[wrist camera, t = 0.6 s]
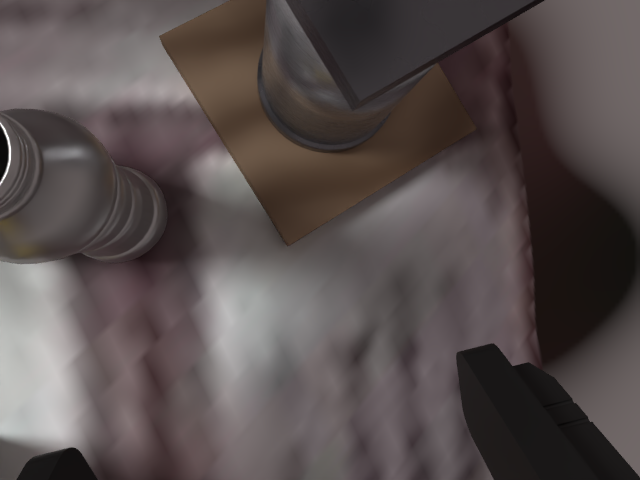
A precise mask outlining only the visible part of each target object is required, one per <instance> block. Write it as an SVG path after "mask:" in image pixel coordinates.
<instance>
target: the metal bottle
mask: <svg viewBox="0 0 640 480" xmlns="http://www.w3.org/2000/svg"><path fill="white" fill-rule="evenodd" d="M167 215H168V211H167V205H166V200H165V197H164V195H163V192H162V191H161V189H160V188H159V186H158V185H157V183H156V182H155V181H153V180H152V179H151V178H150V177H149V176H147V175H146V174H144V173H143V172H140V171H138V170H135V169H133V168H129V167H124V166H119V165H116V164H115V163H114V162H113V160H112V158H111V157H110V155H109V153H108V152H107V150H106V149H105V147H104V146H103V145H102V143H101V142H100V141H99V140H98V139H97V138H96V137H95V136H94V135H93V134H92V133H91V132H90V131H89V130H88V129H87V128H86V127H84V126H83V125H81V124H79V123H78V122H76V121H75V120H73V119H71V118H69V117H66V116H64V115H61V114H59V113H54V112H49V111H44V110H37V109H10V110H4V111H0V261H3V262H9V263H16V264H37V263H43V262H49V261H53V260H58V259H62V258H64V257H67V256H70V255H73V254H76V253H82V254H84V255H86V256H88V257H91V258H93V259H96V260H99V261H102V262H108V263H122V262H126V261H131V260H133V259H135V258H138V257H140V256H142V255H143V254H145V253H146V252H148V251H149V250H150V249H151V248H152V247H153V246H154V245H155V244H156V243H157V242H158V241H159V239H160V238H161V237H162V235H163V232H164V230H165V228H166V224H167Z"/></svg>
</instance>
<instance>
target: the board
mask: <svg viewBox="0 0 640 480" xmlns="http://www.w3.org/2000/svg"><path fill="white" fill-rule="evenodd" d="M266 2H267V0H230V1H228V2H226V3H224V4H222V5H220V6H218V7H216V8H214V9H212V10H210V11H208V12H206V13H204V14H202V15H200V16H198V17H196V18H194V19H192V20H190V21H188V22H186V23H184V24H182V25H180V26H178V27H176V28H174V29H172V30H170V31H168V32H166V33H164V34H162V35H160V36H159V37H160V40H161V42H162V45H163V47H164V49H165V50H166V52H167V53H168V55H169V57H170V58H171V60H172V61H173V63H174V65H175V66H176V68H177V69H178V71H179V73H180V74H181V76H182V77H183V79H184V81H185V82H186V84H187V86H188V87H189V89H190V90H191V92H192V94H193V95H194V97H195V98H196V100H197V102H198V103H199V105H200V106H201V108H202V110H203V111H204V113H205V115H206V116H207V118H208V119H209V121H210V123H211V124H212V126H213V127H214V129H215V131H216V132H217V134H218V135H219V137H220V139H221V140H222V142H223V143H224V145H225V147H226V148H227V150H228V152H229V153H230V155H231V156H232V158H233V160H234V161H235V163H236V164H237V166H238V168H239V169H240V171H241V172H242V174H243V176H244V177H245V179H246V180H247V182H248V184H249V185H250V187H251V189H252V190H253V192H254V193H255V195H256V197H257V198H258V200H259V201H260V203H261V205H262V206H263V208H264V209H265V211H266V213H267V214H268V216H269V218H270V219H271V221H272V222H273V224H274V226H275V227H276V229H277V230H278V232H279V234H280V235H281V237H282V238H283V240H284V242H285V243H286V245H287V246H289V245H291V244H292V243H294V242H296V241H297V240H299V239H300V238H302V237H304V236H305V235H307V234H309V233H310V232H312V231H313V230H315V229H317V228H318V227H320V226H321V225H323V224H325V223H326V222H328V221H329V220H331V219H333V218H334V217H336V216H338V215H339V214H341V213H342V212H344V211H346V210H347V209H349V208H350V207H352V206H354V205H355V204H357V203H358V202H360V201H362V200H363V199H365V198H367V197H368V196H370V195H371V194H373V193H375V192H376V191H378V190H379V189H381V188H383V187H384V186H386V185H387V184H389V183H391V182H392V181H394V180H395V179H397V178H399V177H400V176H402V175H404V174H405V173H407V172H408V171H410V170H412V169H413V168H415V167H416V166H418V165H420V164H421V163H423V162H424V161H426V160H428V159H429V158H431V157H433V156H434V155H436V154H437V153H439V152H441V151H442V150H444V149H445V148H447V147H449V146H450V145H452V144H453V143H455V142H457V141H458V140H460V139H462V138H463V137H465V136H466V135H468V134H470V133H471V132H473V131H474V130H476V129H477V128H476V127H475V125H474V123H473V121H472V120H471V118H470V116H469V115H468V113H467V111H466V110H465V108H464V106H463V105H462V103H461V101H460V100H459V98H458V96H457V94H456V93H455V91H454V89H453V88H452V86H451V84H450V83H449V81H448V79H447V78H446V76H445V74H444V73H443V71H442V69H441V67H440V66H439V64H438V63H436V64H435V66H434V67H433V68H432V69H431V70H430V71H429V72H428V73H427V74H426V75H425V76H424V77H423V78H422V79H421V80H420V81H419V82H418V83H417V85H416V86H415V87H414V88H413V89H412V90H411V91H410V92H409V93H408V94H407V95H406V96H405V97H404V98H403V99H402V100H401V101H400V102H399V104H398V105H397V106H396V107H395V108H394V109H393V110H392V111H391V114H390V116H389V117H388V119H387V120H386V122H385V123H384V125H383V126H382V127H381V128H380V129H379V130H378V131H377V132H376V133H375V134H374V135H373V136H372V137H371V138H370V139H369V140H367V141H366V142H364V143H363V144H361V145H359V146H357V147H355V148H353V149H350V150H347V151H343V152H337V153H321V152H315V151H311V150H308V149H305V148H302V147H300V146H298V145H296V144H294V143H292V142H291V141H289V140H288V139H286V138H285V137H284V136H283V135H282V134H280V133H279V132H278V131H277V129H276V128H275V127H274V126H273V125H272V123H271V122H270V121H269V119H268V118H267V116H266V114H265V112H264V110H263V108H262V105H261V102H260V99H259V95H258V88H257V72H258V63H259V58H260V54H261V51H262V49H263V45H264V30H265V16H266Z"/></svg>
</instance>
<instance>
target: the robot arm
mask: <svg viewBox="0 0 640 480" xmlns="http://www.w3.org/2000/svg"><path fill="white" fill-rule="evenodd" d="M456 360H457V368H458V376H459V384H460V392H461V400H462V408H463V412H464V416H465V420H466V423H467V426H468V428H469V431H470V433H471V436H472V438H473V440H474V442H475V444H476V446H477V448H478V450H479V452H480V453H481V455H482V457H483V459H484V461H485V463H486V465H487V467H488V469H489V471H490V473H491V475H492V477H493V479H494V480H640V477H639V476H638V475H637V474H636V472H635V471H634V470H633V469H632V468H631V467H630V465H629V464H628V463H627V462H626V461H625V460H624V459H623V458H622V456H621V455H620V454H619V453H618V452H617V450H616V449H615V448H614V447H613V446H612V445H611V443H610V442H609V441H608V440H607V439H606V437H605V436H604V435H603V434H602V433H601V432H600V431H599V429H598V428H597V427H596V426H595V425H594V424H593V422H590V421H589V419H588V417H587V416H586V415H585V413H584V412H583V411H582V410H581V409H580V407H579V406H578V405H577V404H576V403H574V402H573V400H572V398H571V397H570V396H569V395H568V393H567V392H566V391H565V390H564V389H563V387H562V386H561V385H560V384H559V383H558V382H557V380H556V379H555V378H554V377H552V376H550V375H549V374H547V373H545V372H544V371H542V370H540V369H539V368H537V367H535V366H534V365H532V364H530V363H529V362H528V363H524V364H520V365H516V366H512V365H511V364H510V362H509V361H508V360H507V358H506V357H505V356H504V355H503V353H502V352H501V351H500V349H499V348H498V347H497V346H496V345H495V344H488V345H484V346H480V347H476V348H472V349H468V350H464V351H460V352H457V355H456ZM17 480H98V479H97V478H96V476H95V475H94V473H93V471H92V470H91V468H90V467H89V465H88V463H87V462H86V460H85V459H84V457H83V456H82V454H81V453H80V451H79V450H78V449H76V448H67V449H63V450H59V451H55V452H51V453H47V454H43V455H39V456H35V457H33V458H31V459H30V460H29V461H28V462H27V463H26V465H25V466H24V468H23V470H22V471H21V473H20V475H19V476H18V478H17Z"/></svg>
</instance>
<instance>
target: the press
mask: <svg viewBox="0 0 640 480" xmlns="http://www.w3.org/2000/svg"><path fill="white" fill-rule="evenodd" d="M543 1H544V0H267V2H266V16H265V30H264V45H263V49H262V51H261V54H260V58H259V63H258V72H257V88H258V95H259V99H260V102H261V105H262V108H263V110H264V112H265V114H266V116H267V118H268V119H269V121H270V122H271V123H272V125H273V126H274V127H275V128H276V129H277V131H278V132H279V133H280V134H282V135H283V136H284V137H285V138H286V139H288V140H289V141H291V142H292V143H294V144H296V145H298V146H300V147H302V148H305V149H308V150H311V151H315V152H321V153H337V152H343V151H347V150H350V149H353V148H355V147H357V146H359V145H361V144H363V143H364V142H366V141H367V140H369V139H370V138H371V137H372V136H373V135H374V134H375V133H376V132H377V131H378V130H379V129H380V128H381V127H382V126H383V125H384V123H385V122H386V120H387V119H388V117H389V116H390V114H391V111H392V110H393V109H394V108H395V107H396V106H397V105H398V104H399V102H400V101H401V100H402V99H403V98H404V97H405V96H406V95H407V94H408V93H409V92H410V91H411V90H412V89H413V88H414V87H415V86H416V85H417V83H418V82H419V81H420V80H421V79H422V78H423V77H424V76H425V75H426V74H427V73H428V72H429V71H430V70H431V69H432V68H433V67H434V66H435V64H436V63H438V62H439V61H441V60H443V59H444V58H446V57H448V56H450V55H451V54H453V53H455V52H456V51H458V50H460V49H462V48H463V47H465V46H467V45H469V44H470V43H472V42H474V41H475V40H477V39H479V38H481V37H482V36H484V35H486V34H488V33H489V32H491V31H493V30H494V29H496V28H498V27H500V26H501V25H503V24H505V23H506V22H508V21H510V20H512V19H513V18H515V17H517V16H519V15H520V14H522V13H523V12H525V11H527V10H529V9H531V8H532V7H534V6H536V5H537V4H539V3H541V2H543Z"/></svg>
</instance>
